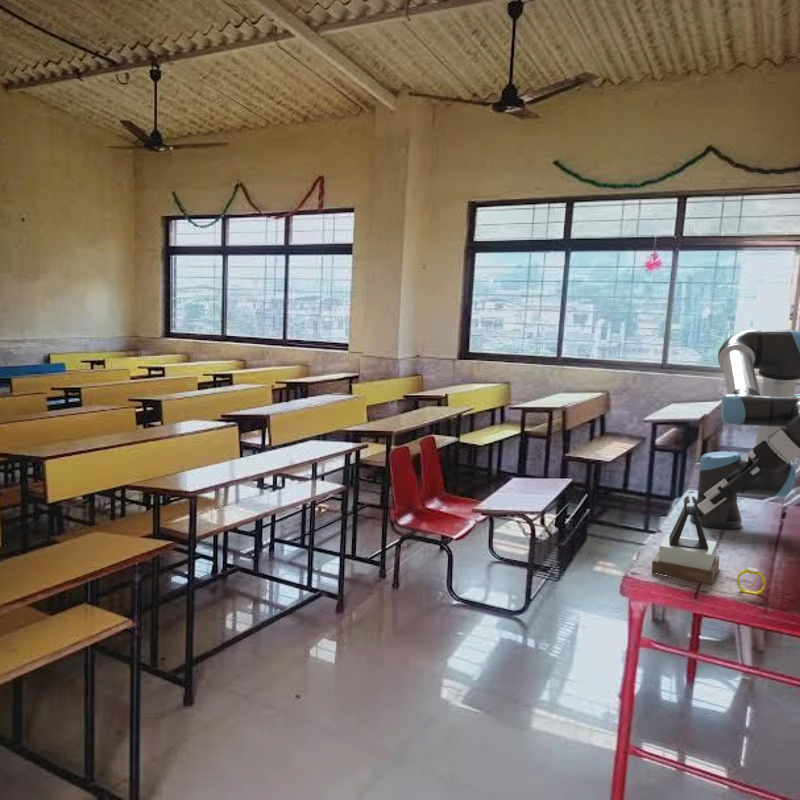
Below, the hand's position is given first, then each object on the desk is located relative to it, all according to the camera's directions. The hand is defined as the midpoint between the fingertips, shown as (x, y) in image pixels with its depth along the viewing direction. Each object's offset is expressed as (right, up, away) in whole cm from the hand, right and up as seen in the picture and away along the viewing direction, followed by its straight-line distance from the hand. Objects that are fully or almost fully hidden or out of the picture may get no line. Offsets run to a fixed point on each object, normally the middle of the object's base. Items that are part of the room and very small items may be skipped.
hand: (704, 503), depth 165 cm
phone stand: (-2, -11, +4) cm, 12 cm away
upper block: (-2, -15, +4) cm, 16 cm away
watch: (+7, -20, -9) cm, 23 cm away
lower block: (-3, -19, +5) cm, 20 cm away
